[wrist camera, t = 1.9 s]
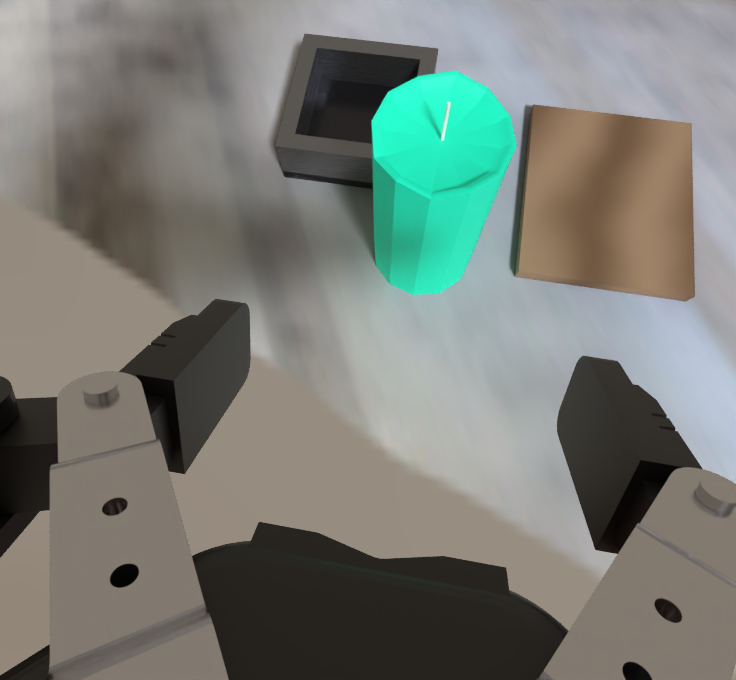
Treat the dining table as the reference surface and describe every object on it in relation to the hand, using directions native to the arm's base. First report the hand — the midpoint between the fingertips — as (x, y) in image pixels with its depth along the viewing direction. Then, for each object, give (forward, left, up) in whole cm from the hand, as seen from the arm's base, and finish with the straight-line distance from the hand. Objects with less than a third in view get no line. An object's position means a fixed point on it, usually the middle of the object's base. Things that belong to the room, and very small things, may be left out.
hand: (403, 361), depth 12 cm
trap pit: (+5, -19, -15) cm, 25 cm away
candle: (0, -11, -16) cm, 19 cm away
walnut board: (-11, -16, -15) cm, 25 cm away
